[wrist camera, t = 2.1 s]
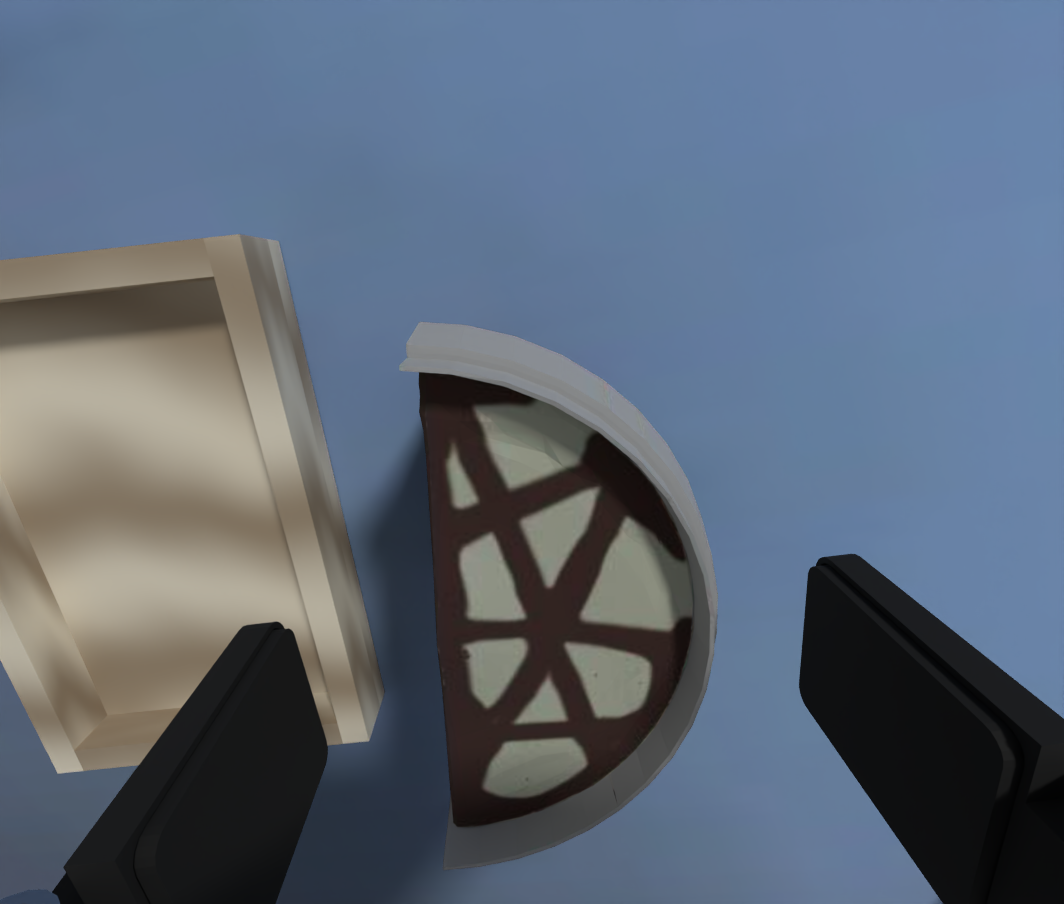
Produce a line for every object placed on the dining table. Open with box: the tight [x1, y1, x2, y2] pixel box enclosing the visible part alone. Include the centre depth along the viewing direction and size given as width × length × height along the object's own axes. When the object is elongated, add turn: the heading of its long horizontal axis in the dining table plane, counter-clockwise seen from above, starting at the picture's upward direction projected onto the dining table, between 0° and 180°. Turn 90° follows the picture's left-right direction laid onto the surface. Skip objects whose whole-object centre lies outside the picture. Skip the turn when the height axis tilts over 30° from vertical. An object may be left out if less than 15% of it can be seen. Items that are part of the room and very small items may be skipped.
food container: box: [399, 322, 718, 870], centre depth 15 cm, size 12×6×10 cm, turn 1°
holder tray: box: [0, 234, 385, 773], centre depth 18 cm, size 18×12×2 cm, turn 6°
